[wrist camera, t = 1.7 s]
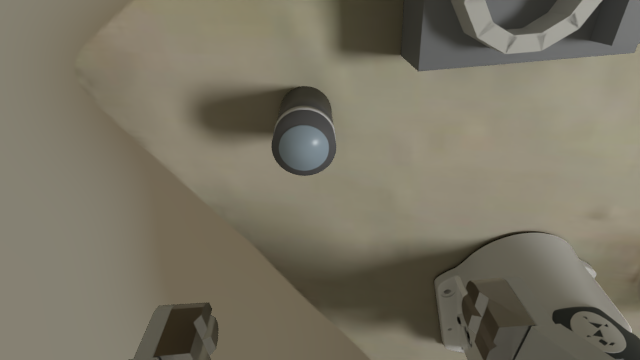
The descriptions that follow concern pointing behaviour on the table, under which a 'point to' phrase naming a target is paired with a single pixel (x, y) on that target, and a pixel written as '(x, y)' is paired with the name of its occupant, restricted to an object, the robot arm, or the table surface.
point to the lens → (304, 132)
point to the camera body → (515, 31)
